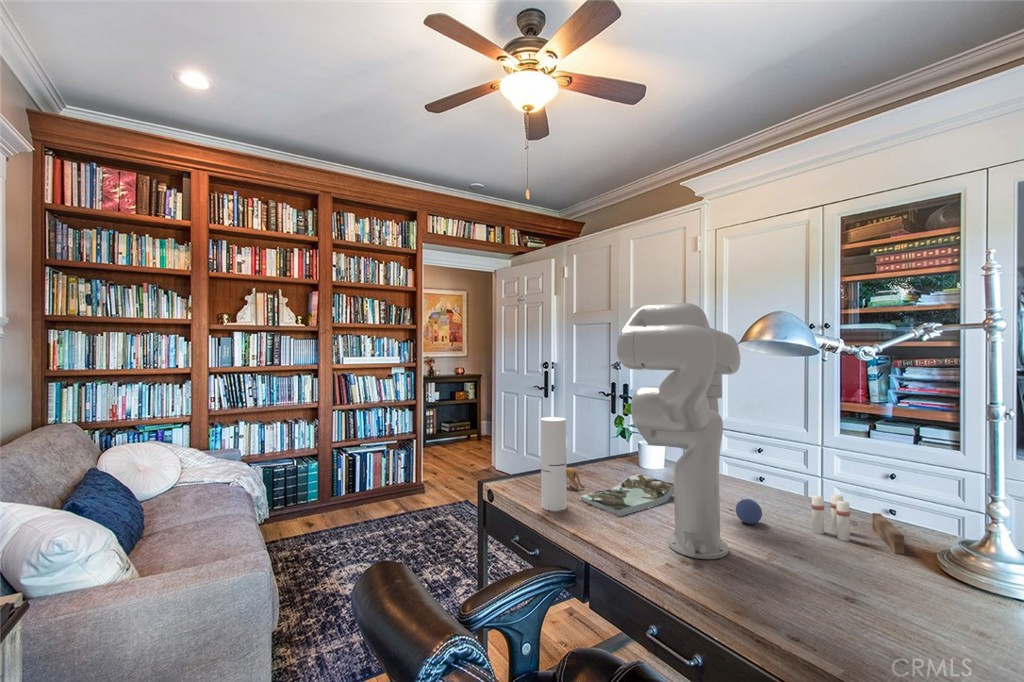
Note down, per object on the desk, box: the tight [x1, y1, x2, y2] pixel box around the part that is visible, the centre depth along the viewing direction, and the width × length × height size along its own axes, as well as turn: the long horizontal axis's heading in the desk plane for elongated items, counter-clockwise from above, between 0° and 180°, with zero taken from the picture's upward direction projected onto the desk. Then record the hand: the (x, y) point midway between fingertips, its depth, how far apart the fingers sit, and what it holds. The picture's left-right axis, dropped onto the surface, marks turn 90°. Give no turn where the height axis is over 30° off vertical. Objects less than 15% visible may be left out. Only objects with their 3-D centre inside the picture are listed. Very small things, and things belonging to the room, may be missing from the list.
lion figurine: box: [566, 467, 586, 491], centre depth 147 cm, size 15×5×9 cm, turn 70°
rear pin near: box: [836, 500, 851, 542], centre depth 105 cm, size 3×3×8 cm
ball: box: [735, 498, 763, 525], centre depth 115 cm, size 6×6×6 cm
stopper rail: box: [872, 512, 905, 555], centre depth 104 cm, size 14×2×4 cm, turn 157°
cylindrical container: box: [540, 416, 568, 512], centre depth 129 cm, size 7×7×25 cm
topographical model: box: [580, 473, 674, 517], centre depth 134 cm, size 26×15×5 cm, turn 123°
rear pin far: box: [830, 493, 844, 533], centre depth 110 cm, size 3×3×8 cm
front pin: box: [810, 494, 825, 535], centre depth 110 cm, size 3×3×8 cm
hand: (707, 459), depth 119 cm, fingers open, 5 cm apart
